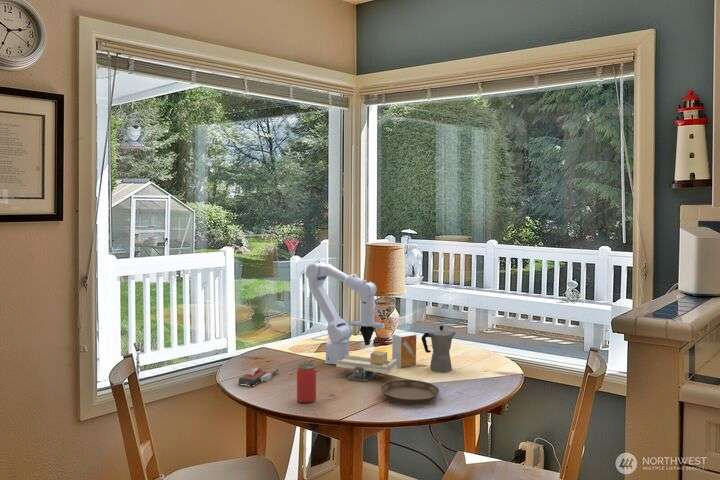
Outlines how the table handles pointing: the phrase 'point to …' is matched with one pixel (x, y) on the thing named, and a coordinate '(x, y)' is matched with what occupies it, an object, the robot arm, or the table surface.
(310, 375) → the beer can
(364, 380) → the pivot stand
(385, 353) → the brass block
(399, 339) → the small box
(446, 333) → the coffeepot
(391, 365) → the beam
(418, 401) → the plant saucer
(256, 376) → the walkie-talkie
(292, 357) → the table surface
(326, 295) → the robot arm
